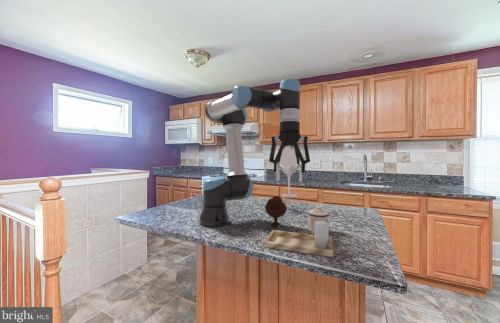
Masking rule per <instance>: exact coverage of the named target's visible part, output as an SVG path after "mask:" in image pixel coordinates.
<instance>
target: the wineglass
mask: <svg viewBox="0 0 500 323" xmlns="http://www.w3.org/2000/svg"><path fill="white" fill-rule="evenodd" d="M299 164H301V161H300V159H299V156H298V154H297V152H296V149H295V148H284V149H282V150H281V153H280V157H279V161H278V165H279V168H280V171H282V172H283V174H284V175H286V177H287V193H281V194H280V197H284V198H297V197H298V194H294V193H291V177H292V175H293V174H295V173H296V172H297V170H299Z"/></svg>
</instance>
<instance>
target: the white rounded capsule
mask: <svg viewBox="0 0 500 323" xmlns="http://www.w3.org/2000/svg"><path fill="white" fill-rule="evenodd" d="M329 224H330V223H329V222H328V223H327V222H324V221H316V222H315V223H314V232H313V235H314V247H315V248H319V249H326V250H327V249H328V237H329V232H330V230H329V228H330V226H329Z"/></svg>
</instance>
